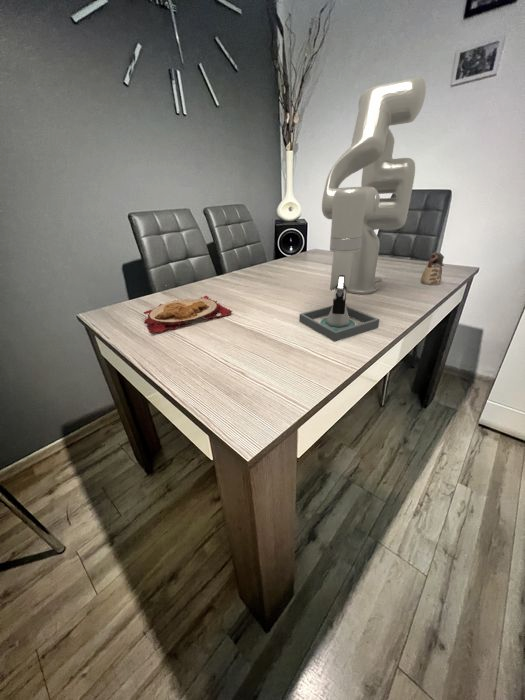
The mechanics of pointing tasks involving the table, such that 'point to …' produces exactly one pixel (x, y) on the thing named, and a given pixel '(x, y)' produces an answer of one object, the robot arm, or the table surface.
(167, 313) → the plate with food
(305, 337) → the table surface
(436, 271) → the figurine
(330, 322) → the flask
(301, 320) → the square tray with dome
